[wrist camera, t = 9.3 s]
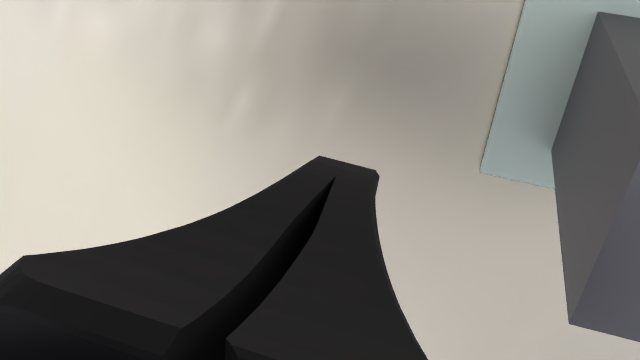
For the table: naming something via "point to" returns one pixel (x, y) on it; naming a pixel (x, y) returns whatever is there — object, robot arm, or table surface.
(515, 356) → the table surface
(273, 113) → the table surface
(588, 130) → the black domino
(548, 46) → the sage board
